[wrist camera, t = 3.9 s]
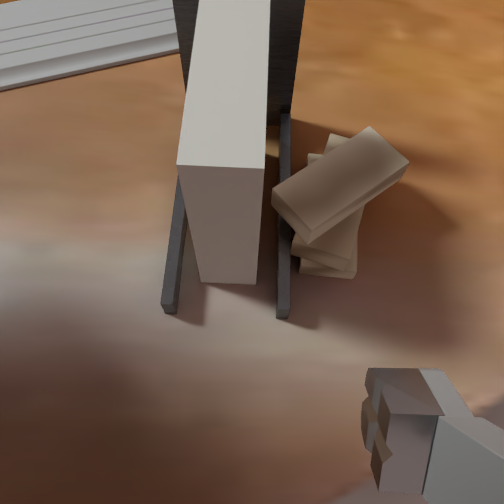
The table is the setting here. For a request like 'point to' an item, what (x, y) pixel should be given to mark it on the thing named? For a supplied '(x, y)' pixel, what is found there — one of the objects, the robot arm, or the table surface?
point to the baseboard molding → (80, 37)
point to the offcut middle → (331, 233)
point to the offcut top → (338, 184)
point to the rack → (278, 113)
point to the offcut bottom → (323, 270)
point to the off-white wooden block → (226, 138)
